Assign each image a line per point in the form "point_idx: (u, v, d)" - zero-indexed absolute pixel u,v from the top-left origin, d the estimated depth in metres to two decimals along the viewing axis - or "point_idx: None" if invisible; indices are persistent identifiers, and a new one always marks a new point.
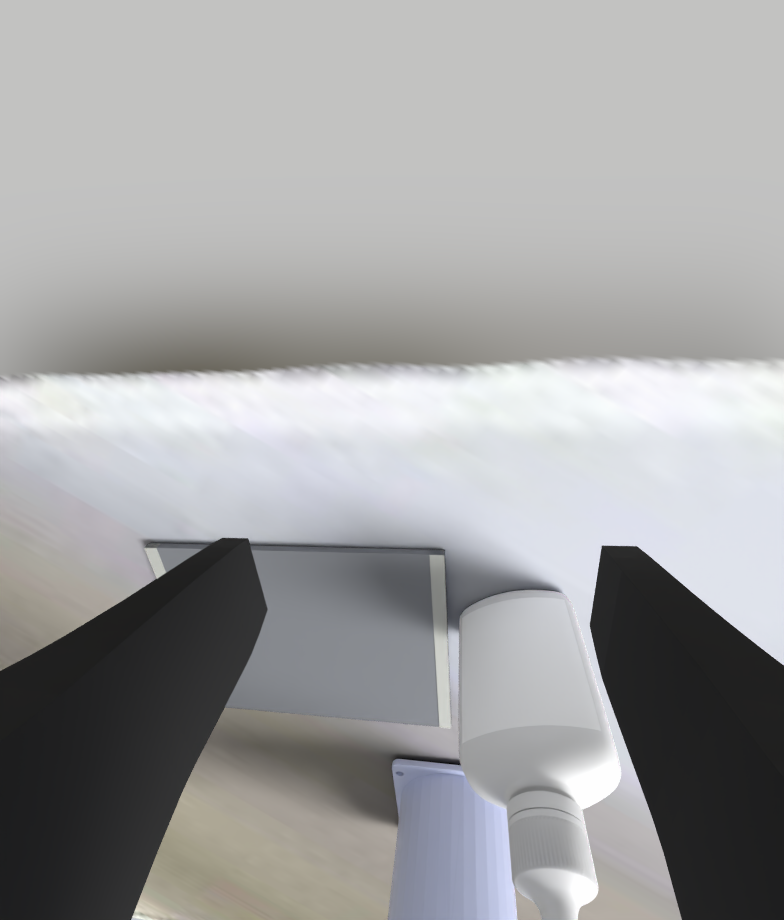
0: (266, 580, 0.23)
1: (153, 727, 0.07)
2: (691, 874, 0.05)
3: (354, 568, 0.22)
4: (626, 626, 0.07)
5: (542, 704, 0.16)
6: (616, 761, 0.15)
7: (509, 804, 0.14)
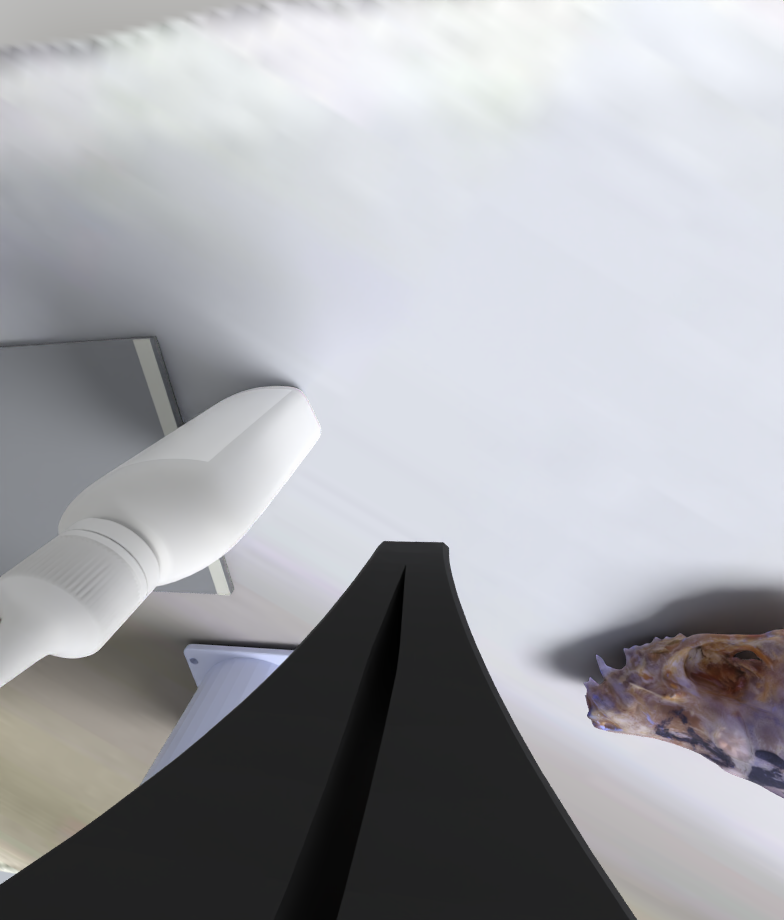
0: None
1: (378, 750, 0.06)
2: None
3: (60, 368, 0.18)
4: None
5: (162, 449, 0.12)
6: (218, 496, 0.11)
7: None
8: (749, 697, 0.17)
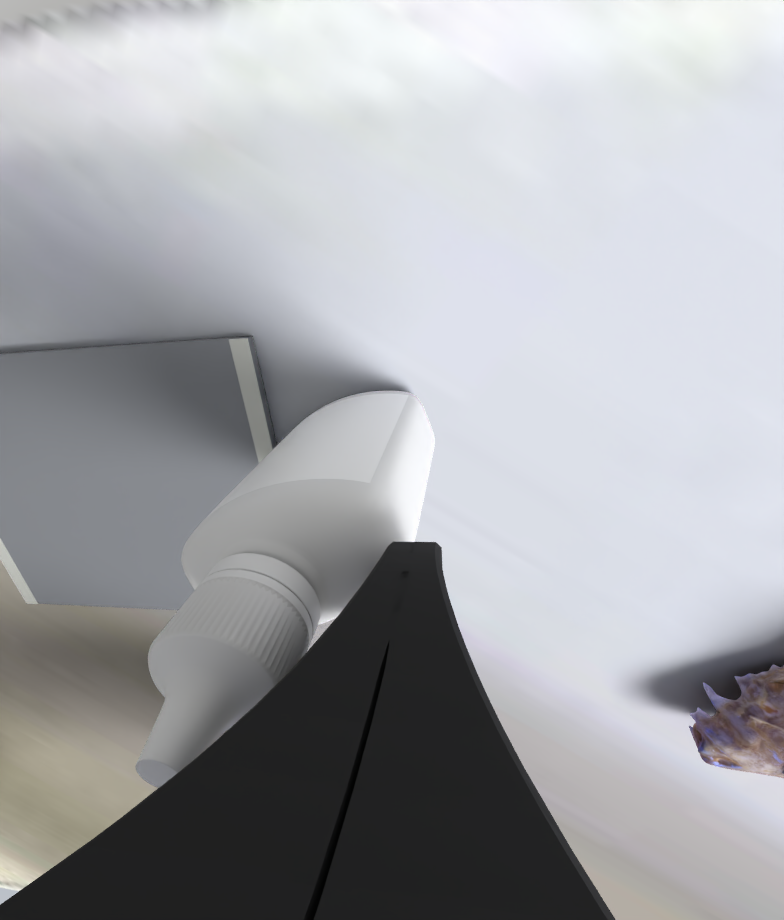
0: (41, 402, 0.18)
1: None
2: None
3: (141, 372, 0.16)
4: None
5: (301, 466, 0.10)
6: (387, 525, 0.09)
7: None
8: None
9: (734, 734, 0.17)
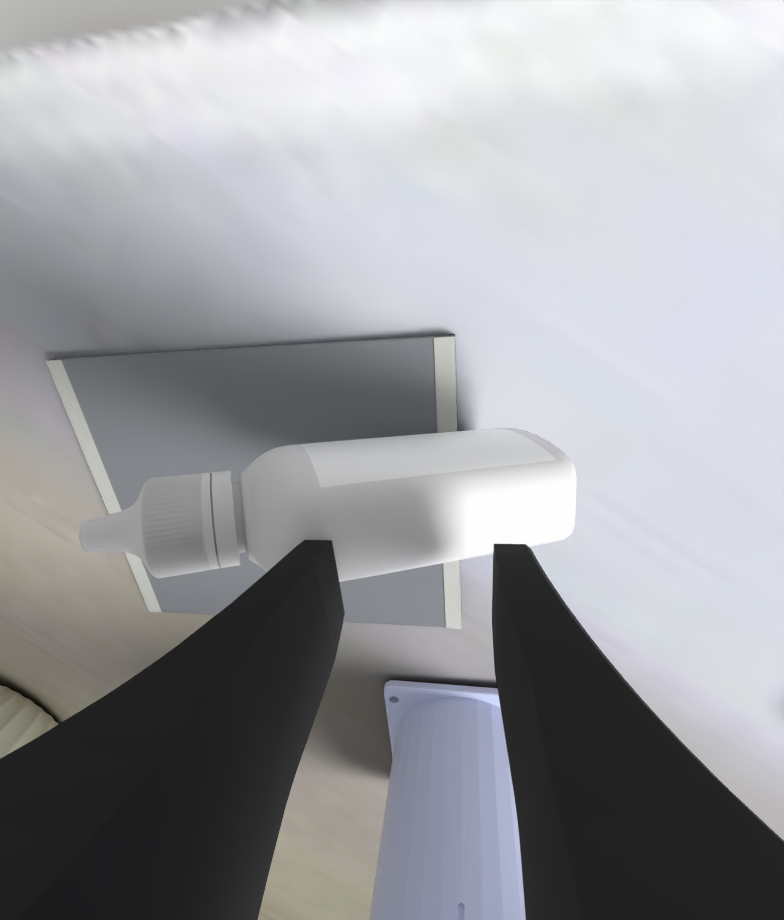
0: (210, 403, 0.17)
1: (266, 739, 0.06)
2: (525, 851, 0.06)
3: (328, 371, 0.16)
4: (501, 620, 0.07)
5: (335, 448, 0.11)
6: (297, 529, 0.09)
7: None
8: None
9: None
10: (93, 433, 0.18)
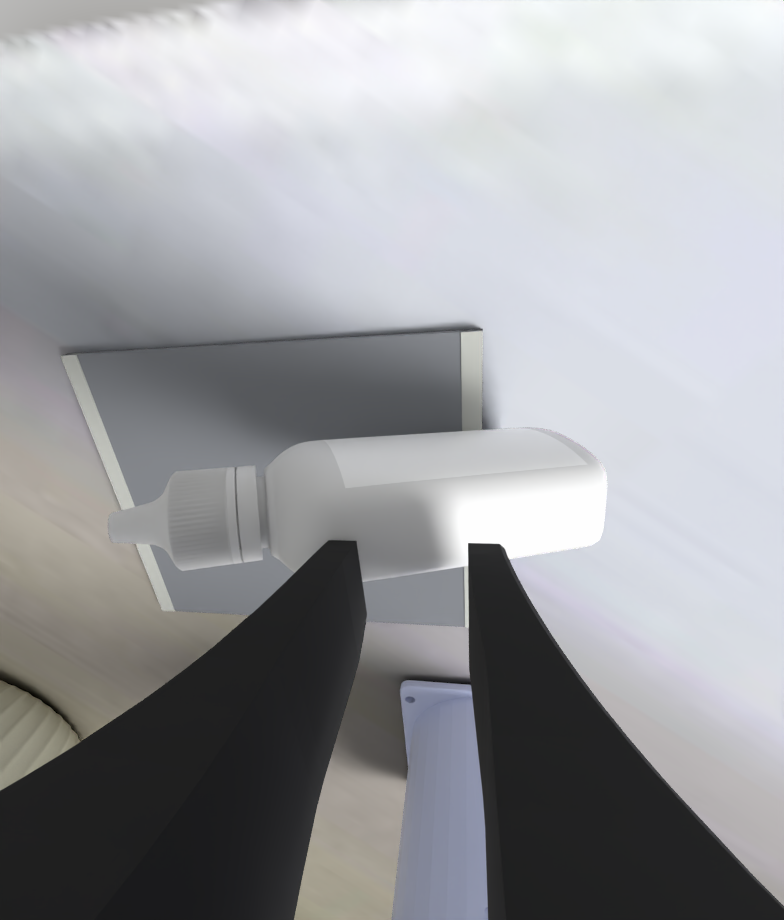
0: (228, 399, 0.17)
1: (299, 742, 0.06)
2: (487, 846, 0.06)
3: (351, 367, 0.15)
4: (471, 618, 0.07)
5: (360, 446, 0.11)
6: (321, 529, 0.09)
7: None
8: None
9: None
10: (108, 430, 0.18)
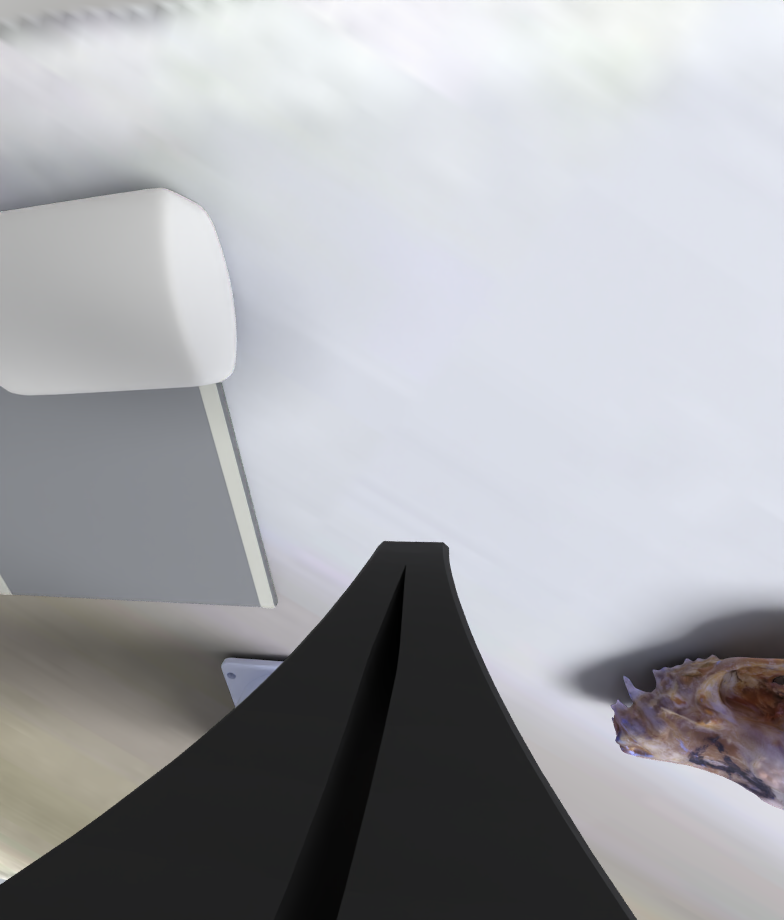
0: (8, 397, 0.18)
1: (378, 750, 0.06)
2: None
3: None
4: None
5: None
6: None
7: None
8: None
9: (646, 724, 0.18)
10: None
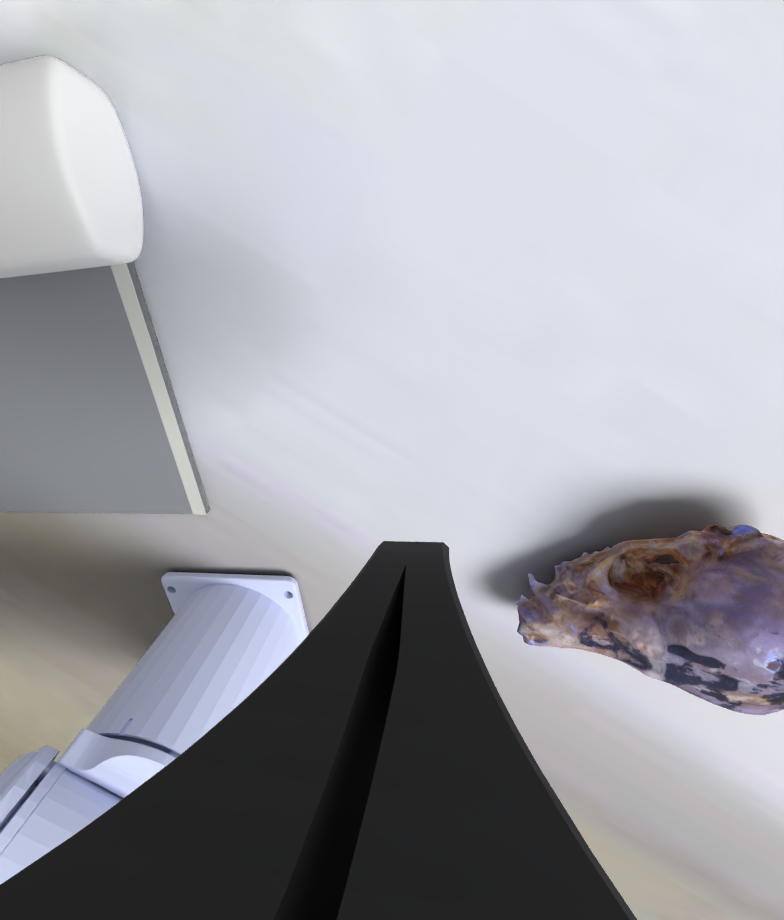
0: None
1: (377, 750, 0.06)
2: None
3: None
4: None
5: None
6: None
7: None
8: (665, 597, 0.17)
9: (542, 611, 0.19)
10: None
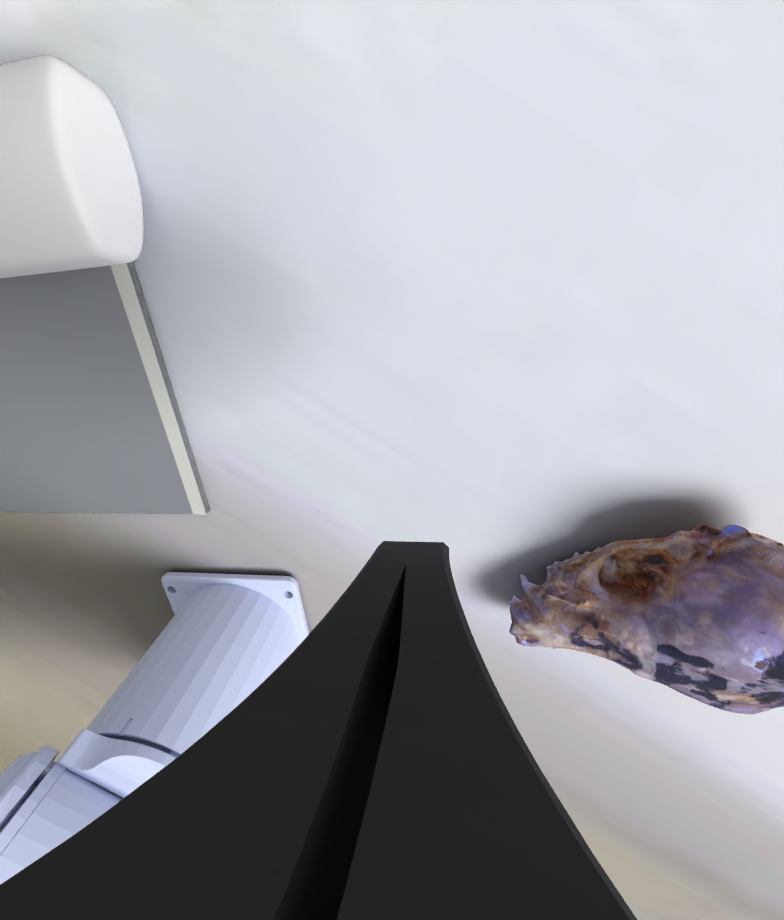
0: None
1: (377, 750, 0.06)
2: None
3: None
4: None
5: None
6: None
7: None
8: (654, 597, 0.17)
9: (534, 612, 0.19)
10: None
